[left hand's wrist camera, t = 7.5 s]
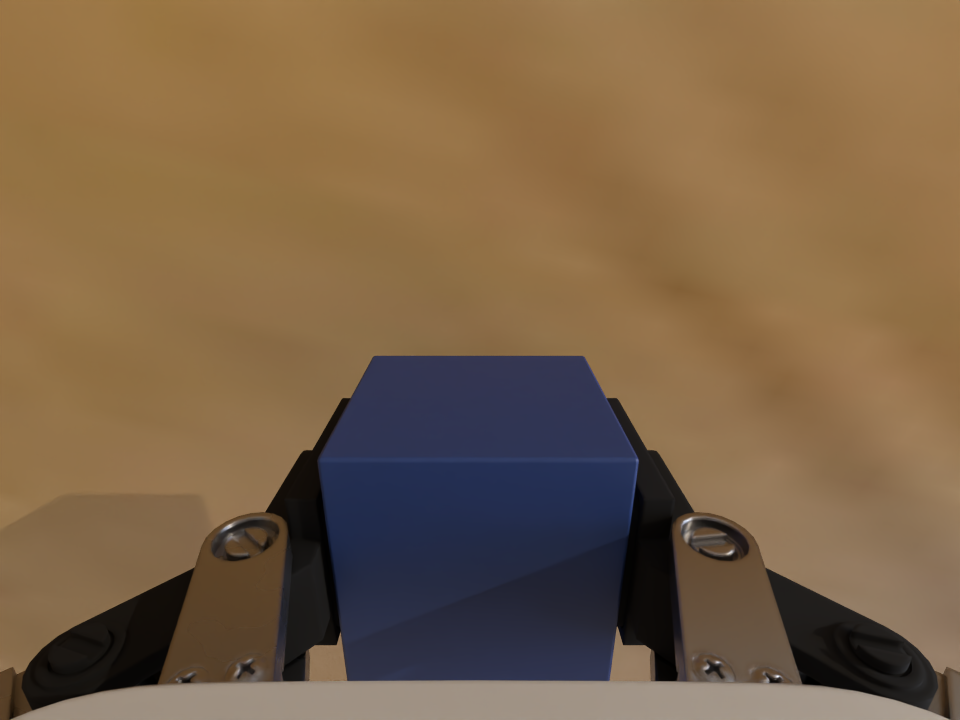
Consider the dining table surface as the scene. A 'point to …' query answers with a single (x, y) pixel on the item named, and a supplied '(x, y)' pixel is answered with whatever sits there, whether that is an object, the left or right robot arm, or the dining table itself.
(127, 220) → the dining table surface
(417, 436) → the block
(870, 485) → the dining table surface
